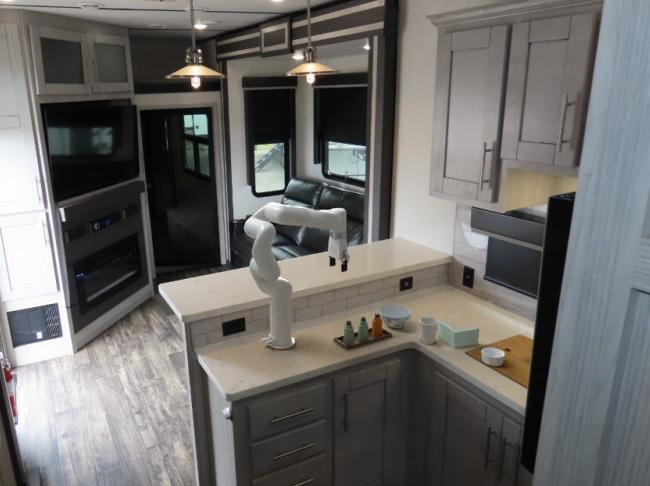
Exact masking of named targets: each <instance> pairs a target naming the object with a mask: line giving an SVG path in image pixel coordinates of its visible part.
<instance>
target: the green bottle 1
mask: <svg viewBox="0 0 650 486" xmlns="http://www.w3.org/2000/svg"><path fill="white" fill-rule="evenodd" d="M342 329H343V331H342V332H343V334H342V335H343V342H344V344H346V345H352V344H354V332H355V327H354V326H353V324H352V321H351V320H346V322H345V324H344V326H343V327H342Z"/></svg>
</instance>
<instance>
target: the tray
mask: <svg viewBox="0 0 650 486" xmlns="http://www.w3.org/2000/svg"><path fill="white" fill-rule="evenodd" d="M392 337H393V333H392V332H390V331H388V330H387V329H385V328H384V327H382V336H380V337H375V336H373V335H372V326H371V327H368V340H366V341H361V340H359V339H358V330H356V331H354V344H352V345H346V344H344V342H343V334H342V335H339V336H335V337H333V342H334V343H336V344H337V345H339V346H340V347H342V348H343V349H345V350H346V351H348V350H351V349H355V348H358V347H362V346H365V345H368V344H372V343H375V342H380V341H383V340H386V339H389V338H392Z"/></svg>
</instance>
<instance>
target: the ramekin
mask: <svg viewBox="0 0 650 486" xmlns="http://www.w3.org/2000/svg"><path fill="white" fill-rule="evenodd" d="M480 353H481V361H482V363H484V364H485V365H487V366H491V367H499V366H502V365H503V364H504V360H505V356H506V353H505V351H503V350H501V349H499V348H496V347H484V348H482V349H481V351H480Z"/></svg>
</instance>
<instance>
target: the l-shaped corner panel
mask: <svg viewBox="0 0 650 486" xmlns="http://www.w3.org/2000/svg"><path fill="white" fill-rule="evenodd" d="M438 321H439V323H438V337H439V338H440V339H441V340H443V341H444V342H445V343H447V344H448V345H449V346H450V347H452V348H453V349H456V348H462V347H469V346H476V345H479V339H480V338H479V337H480V336H479V335H480V327H474V328H467V329H460V330H455V329H454V328H452V327H451V326H450V325H448V324H446V323H445V322H444V321H443V320H438Z"/></svg>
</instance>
